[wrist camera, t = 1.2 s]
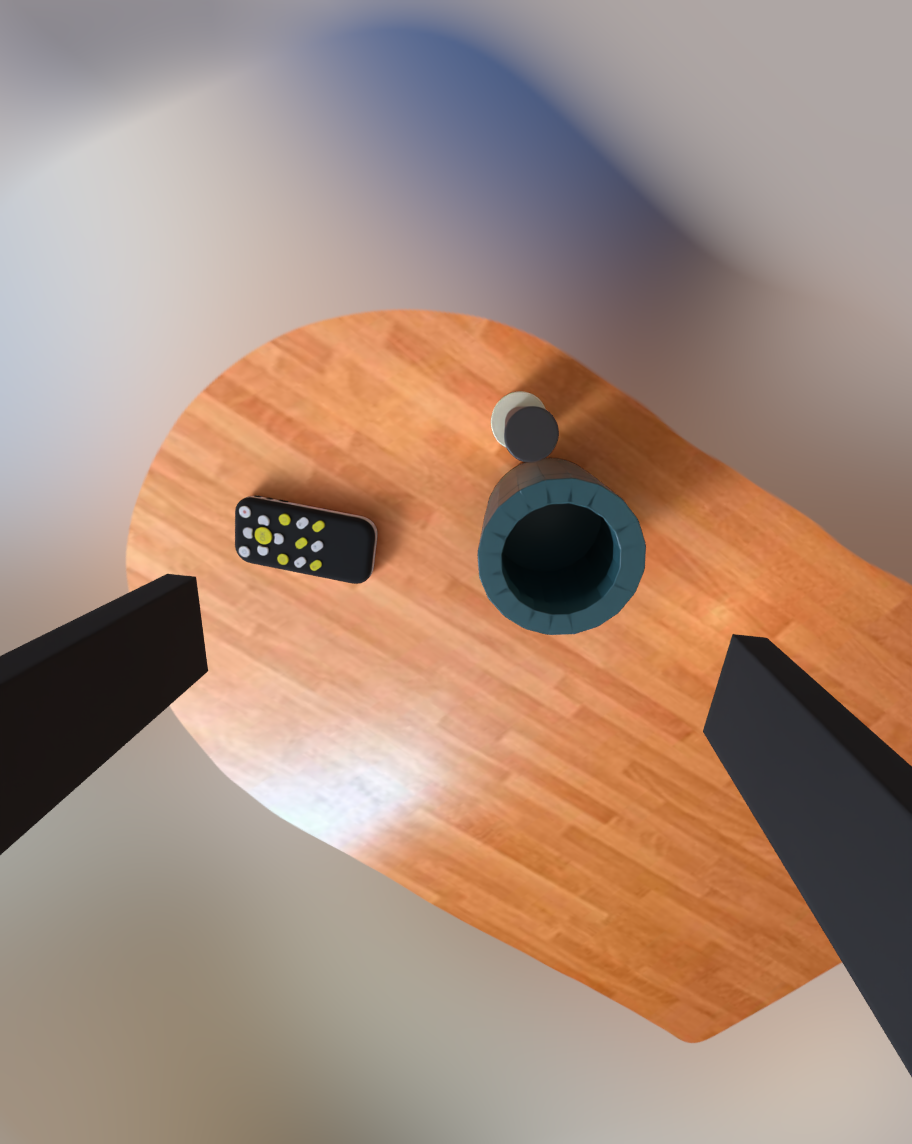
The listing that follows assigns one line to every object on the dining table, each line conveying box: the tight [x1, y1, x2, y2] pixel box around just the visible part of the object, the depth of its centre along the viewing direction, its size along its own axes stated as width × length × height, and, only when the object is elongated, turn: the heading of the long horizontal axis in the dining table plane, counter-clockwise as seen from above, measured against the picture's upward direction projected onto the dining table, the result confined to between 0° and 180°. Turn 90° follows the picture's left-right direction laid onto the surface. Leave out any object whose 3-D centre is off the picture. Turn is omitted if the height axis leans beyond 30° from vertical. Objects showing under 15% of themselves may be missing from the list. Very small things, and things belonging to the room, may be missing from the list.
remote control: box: [235, 496, 377, 584], centre depth 42 cm, size 6×13×2 cm, turn 80°
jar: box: [478, 458, 646, 635], centre depth 35 cm, size 10×10×12 cm
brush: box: [491, 391, 559, 462], centre depth 27 cm, size 4×4×22 cm
